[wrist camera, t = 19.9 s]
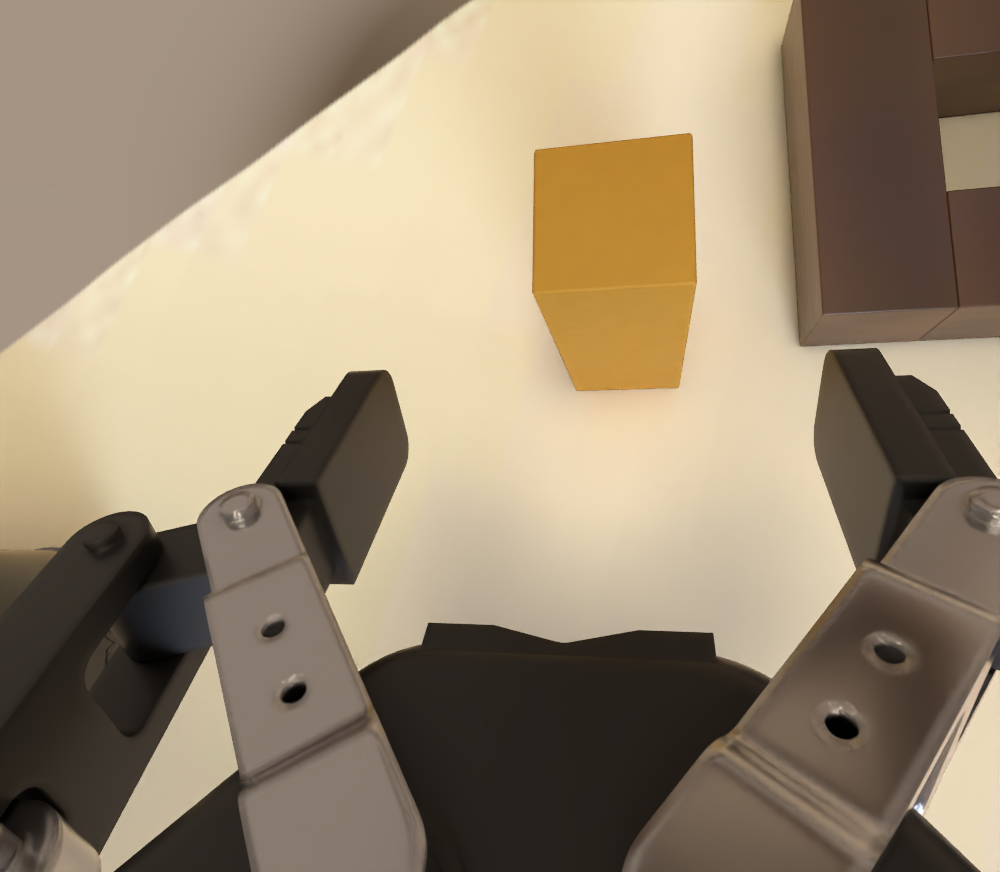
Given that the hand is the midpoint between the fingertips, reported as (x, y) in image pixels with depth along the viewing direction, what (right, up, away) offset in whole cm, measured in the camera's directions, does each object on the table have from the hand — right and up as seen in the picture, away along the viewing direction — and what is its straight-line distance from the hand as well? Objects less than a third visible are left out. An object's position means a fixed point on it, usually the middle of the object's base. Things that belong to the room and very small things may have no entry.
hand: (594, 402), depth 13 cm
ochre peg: (+3, +3, +14) cm, 15 cm away
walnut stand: (+16, +9, +12) cm, 22 cm away
